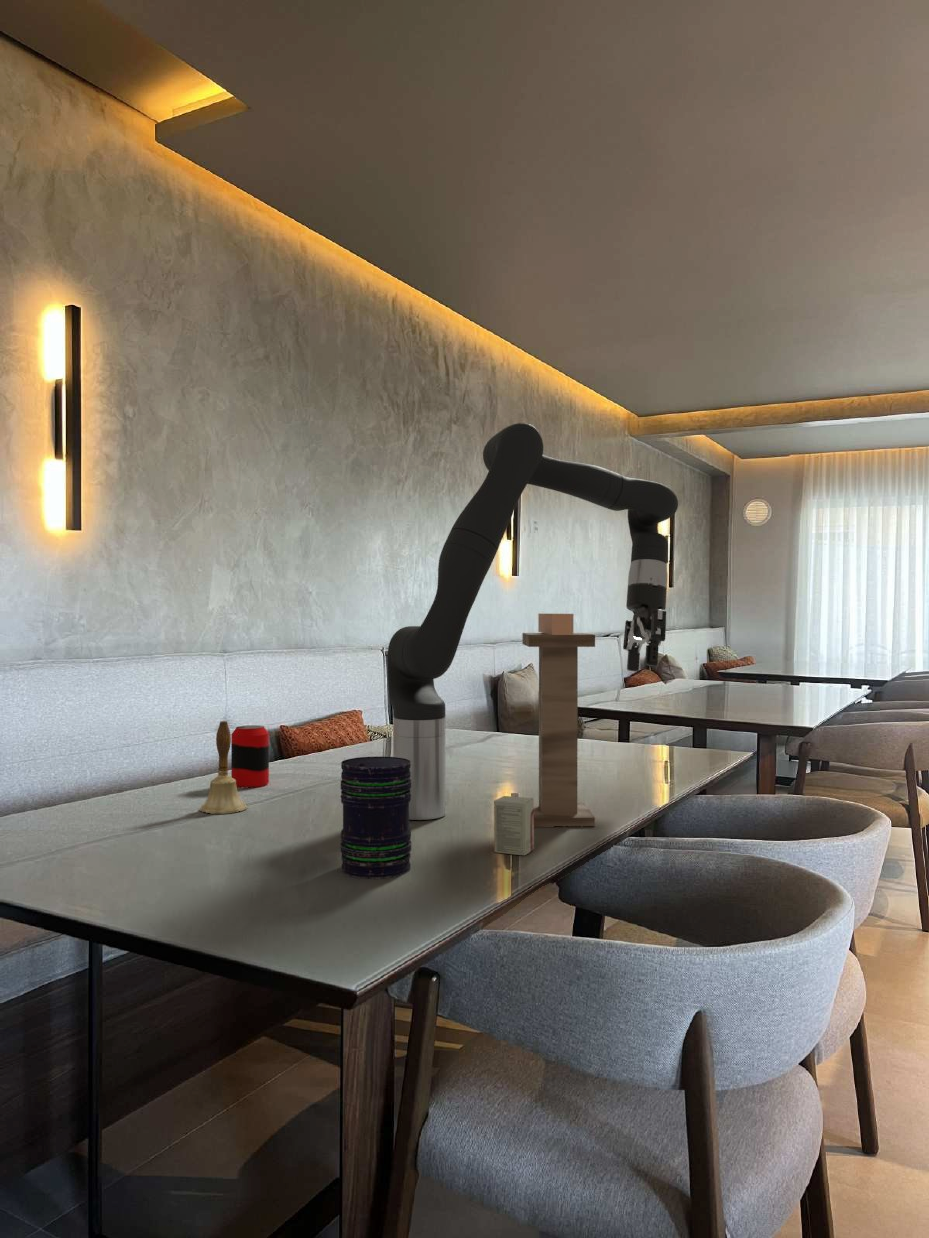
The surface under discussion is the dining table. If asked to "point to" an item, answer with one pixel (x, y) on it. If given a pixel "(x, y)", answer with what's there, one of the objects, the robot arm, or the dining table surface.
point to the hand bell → (223, 780)
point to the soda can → (250, 756)
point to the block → (555, 624)
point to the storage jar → (375, 817)
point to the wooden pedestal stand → (559, 729)
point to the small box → (514, 825)
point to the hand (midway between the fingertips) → (641, 668)
